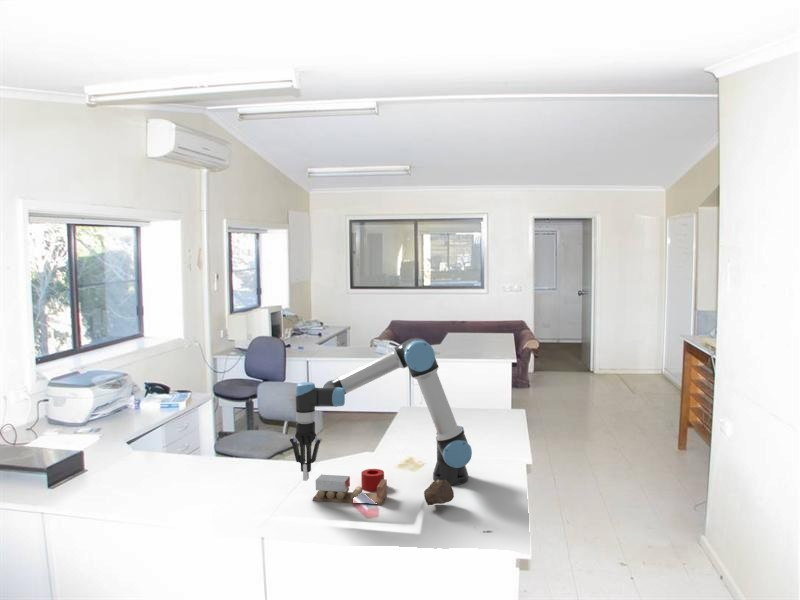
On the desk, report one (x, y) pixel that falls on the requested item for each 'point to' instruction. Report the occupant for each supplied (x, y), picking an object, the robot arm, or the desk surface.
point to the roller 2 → (341, 494)
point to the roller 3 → (356, 492)
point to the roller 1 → (321, 494)
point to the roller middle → (331, 494)
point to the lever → (371, 479)
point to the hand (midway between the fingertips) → (306, 479)
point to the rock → (438, 492)
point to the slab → (332, 483)
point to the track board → (377, 498)
